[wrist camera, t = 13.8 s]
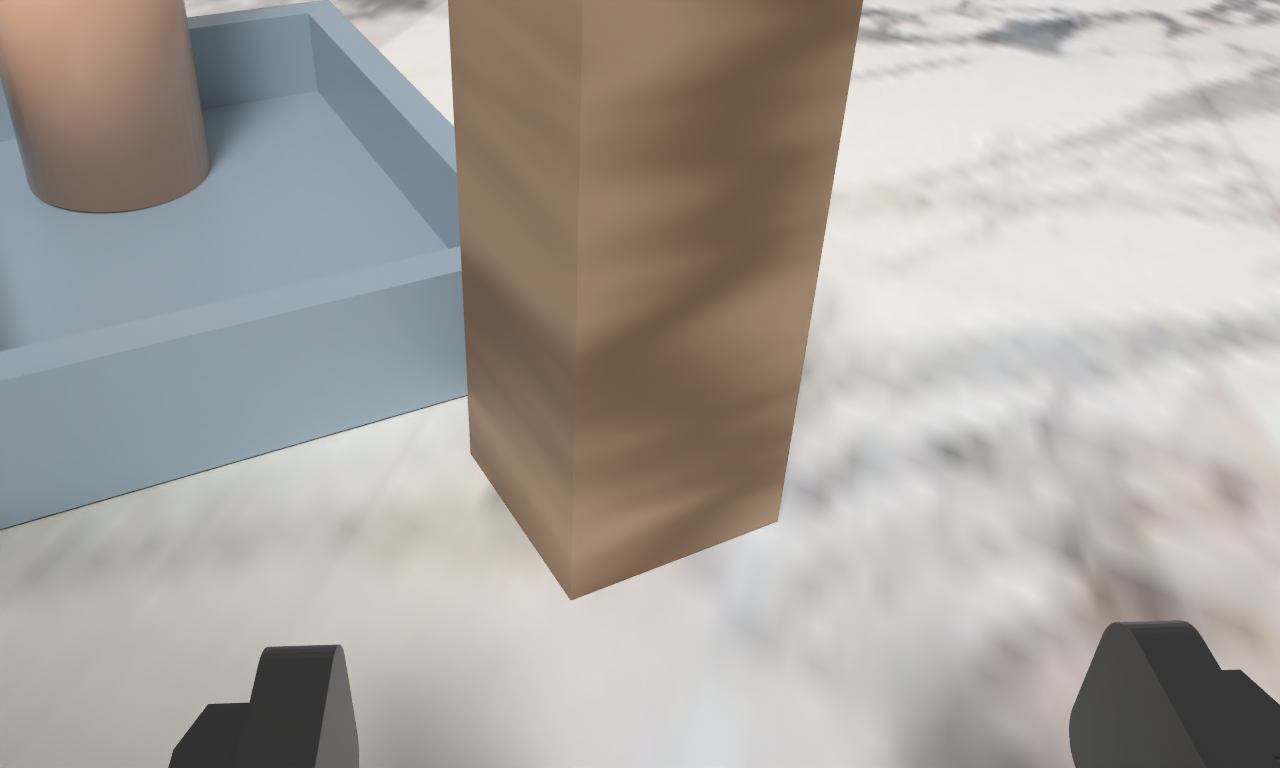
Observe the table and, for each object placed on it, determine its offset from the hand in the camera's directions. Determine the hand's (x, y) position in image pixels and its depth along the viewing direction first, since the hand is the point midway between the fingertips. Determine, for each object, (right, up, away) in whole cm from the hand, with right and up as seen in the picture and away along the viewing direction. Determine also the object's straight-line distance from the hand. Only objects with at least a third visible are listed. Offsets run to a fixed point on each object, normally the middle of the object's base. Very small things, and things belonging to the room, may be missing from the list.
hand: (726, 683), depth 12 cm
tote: (-13, +7, +20) cm, 25 cm away
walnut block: (-1, +1, +13) cm, 14 cm away
